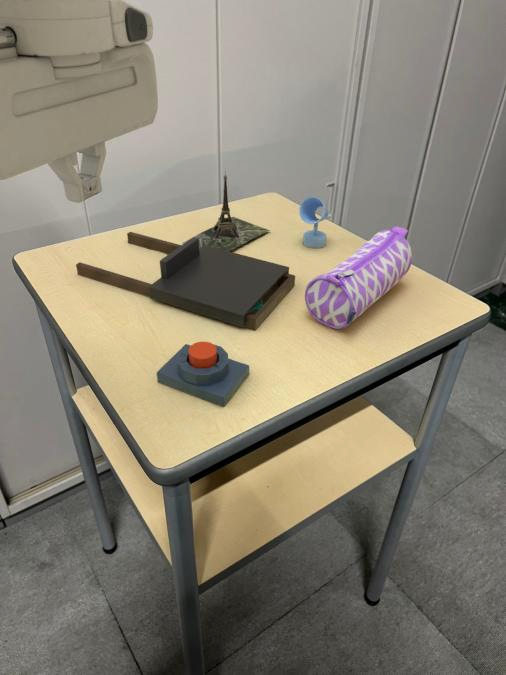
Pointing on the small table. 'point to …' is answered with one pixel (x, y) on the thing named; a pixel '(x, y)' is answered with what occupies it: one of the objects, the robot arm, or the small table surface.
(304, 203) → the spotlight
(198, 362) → the button
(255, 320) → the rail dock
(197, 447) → the small table surface
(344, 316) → the pencil case
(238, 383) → the button block
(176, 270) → the lid
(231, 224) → the eiffel tower figurine
